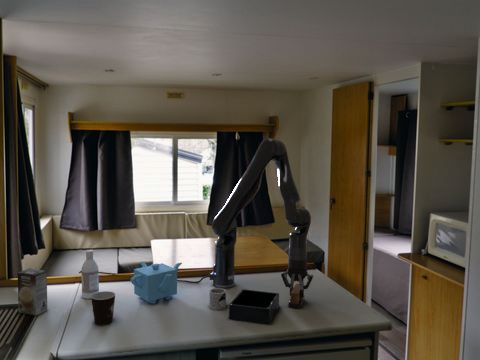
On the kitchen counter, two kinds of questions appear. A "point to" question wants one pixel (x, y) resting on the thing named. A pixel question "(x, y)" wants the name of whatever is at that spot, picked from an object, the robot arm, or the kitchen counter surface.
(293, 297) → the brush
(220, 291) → the mug
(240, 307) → the black open box
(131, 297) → the kitchen counter surface
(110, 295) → the coffee mug
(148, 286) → the teakettle
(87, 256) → the bath foam
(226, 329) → the kitchen counter surface
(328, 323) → the kitchen counter surface
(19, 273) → the coffee box
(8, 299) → the kitchen counter surface
